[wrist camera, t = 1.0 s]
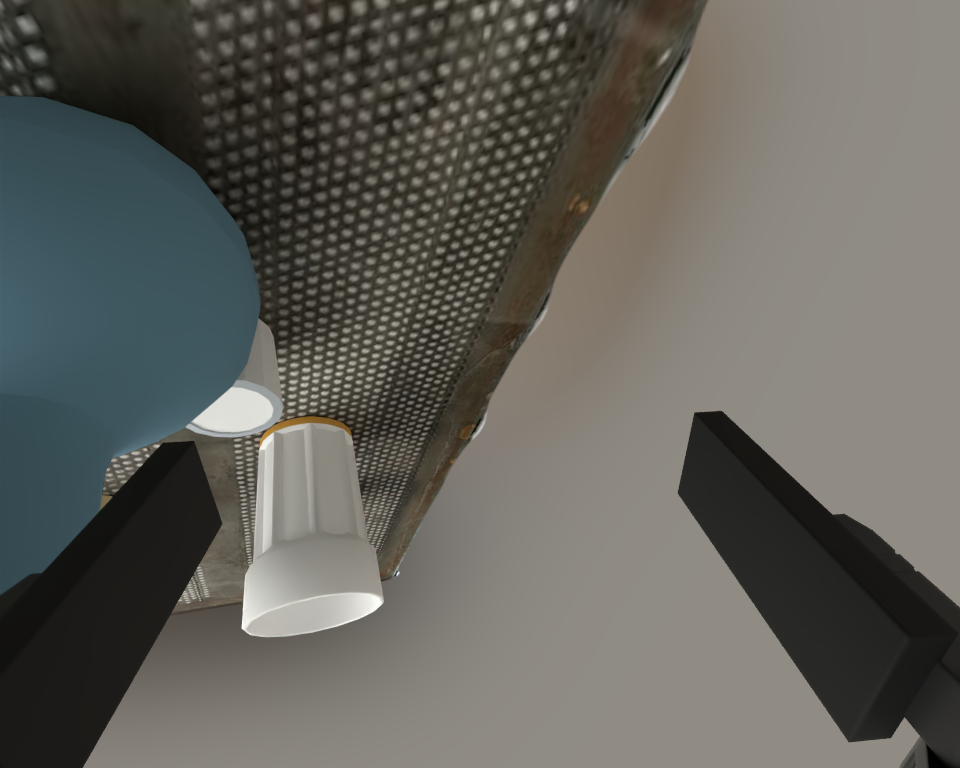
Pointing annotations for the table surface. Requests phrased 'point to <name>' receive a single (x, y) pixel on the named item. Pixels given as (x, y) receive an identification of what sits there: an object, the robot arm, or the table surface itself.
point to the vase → (102, 313)
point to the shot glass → (247, 395)
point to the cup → (309, 533)
